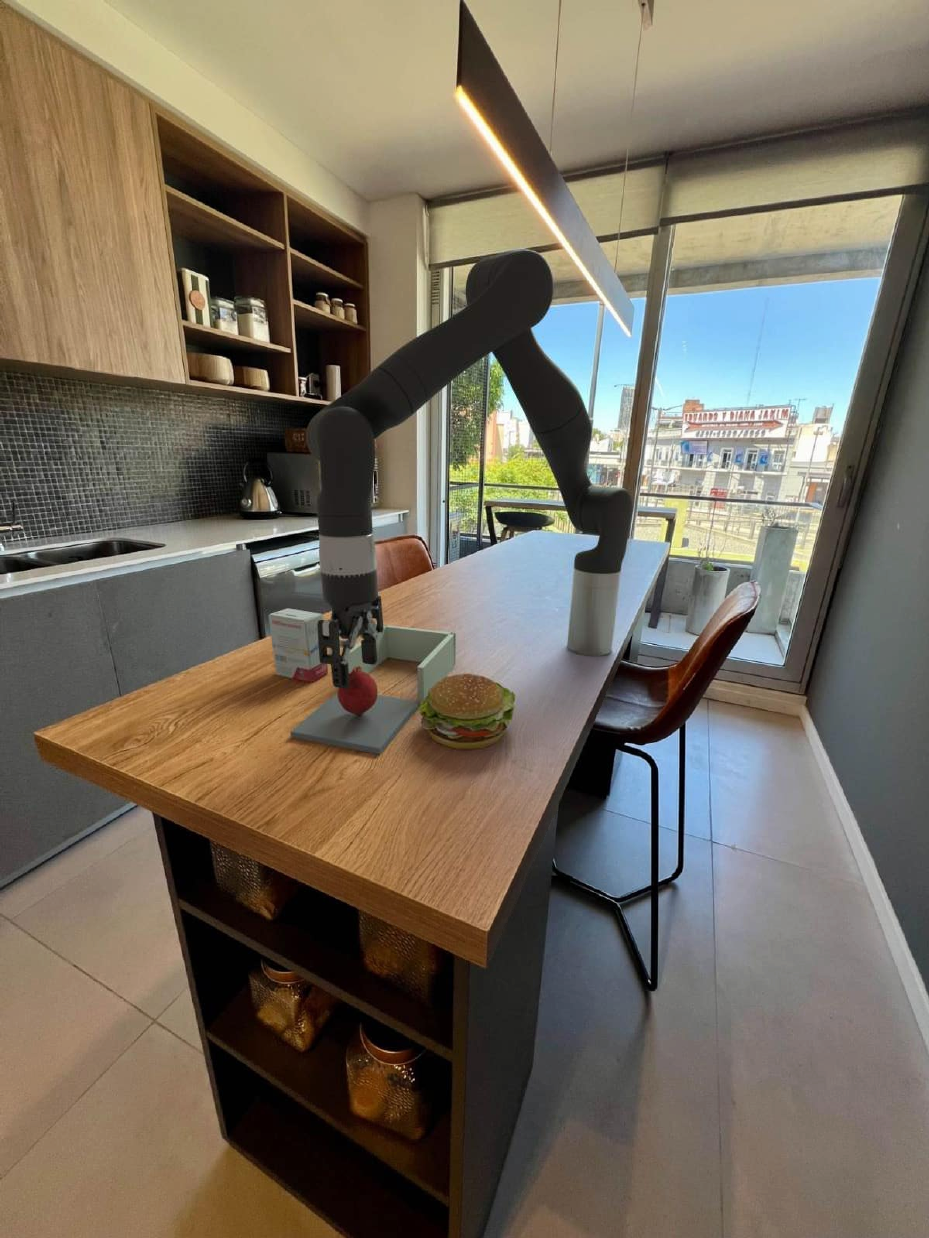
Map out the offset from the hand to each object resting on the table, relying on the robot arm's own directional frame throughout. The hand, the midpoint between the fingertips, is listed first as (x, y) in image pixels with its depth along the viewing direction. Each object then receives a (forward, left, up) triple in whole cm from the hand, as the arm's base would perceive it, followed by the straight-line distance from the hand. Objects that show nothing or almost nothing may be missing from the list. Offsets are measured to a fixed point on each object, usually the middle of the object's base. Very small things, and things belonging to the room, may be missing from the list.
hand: (356, 674), depth 72 cm
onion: (0, 0, -7) cm, 7 cm away
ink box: (-12, -18, -8) cm, 23 cm away
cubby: (-16, 0, -8) cm, 18 cm away
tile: (0, 0, -8) cm, 8 cm away
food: (-3, +17, -8) cm, 19 cm away
